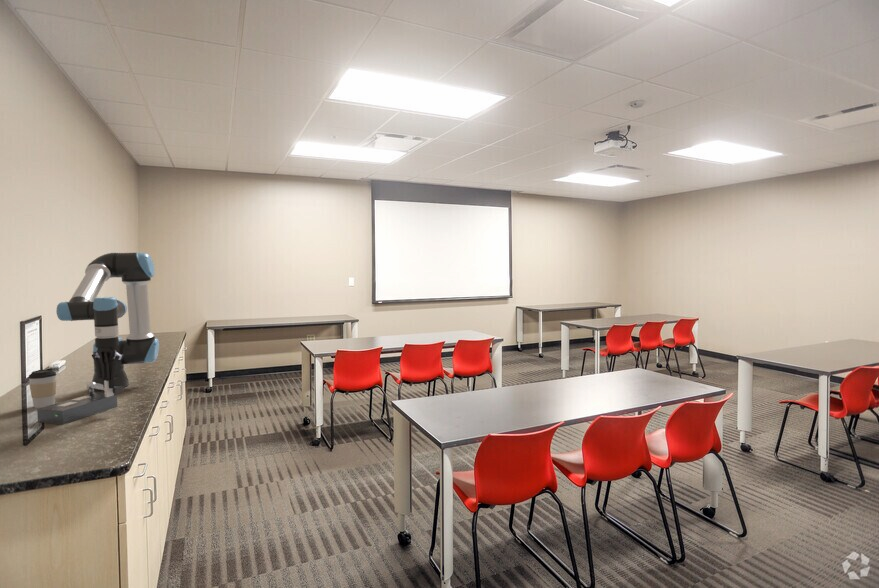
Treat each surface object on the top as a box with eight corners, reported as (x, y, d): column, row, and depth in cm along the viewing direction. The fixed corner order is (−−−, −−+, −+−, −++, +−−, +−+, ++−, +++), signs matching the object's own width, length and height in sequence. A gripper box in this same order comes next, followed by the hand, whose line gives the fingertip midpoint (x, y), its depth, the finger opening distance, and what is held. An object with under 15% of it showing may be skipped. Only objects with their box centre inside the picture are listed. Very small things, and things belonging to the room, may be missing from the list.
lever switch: (94, 404, 194) (93, 386, 193) (117, 406, 191) (116, 387, 191) (36, 422, 172) (35, 401, 171) (62, 424, 169) (60, 403, 169)
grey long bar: (85, 388, 190) (84, 382, 190) (93, 386, 193) (93, 381, 193) (115, 393, 181) (115, 388, 181) (123, 391, 184) (123, 386, 184)
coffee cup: (41, 409, 188) (39, 373, 187) (24, 408, 190) (21, 372, 189) (63, 402, 197) (61, 368, 196) (46, 401, 199) (44, 367, 198)
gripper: (84, 337, 178) (87, 397, 179) (111, 338, 175) (114, 399, 176) (102, 334, 185) (105, 392, 187) (128, 335, 182) (131, 394, 184)
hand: (109, 396), depth 181 cm, fingers closed
